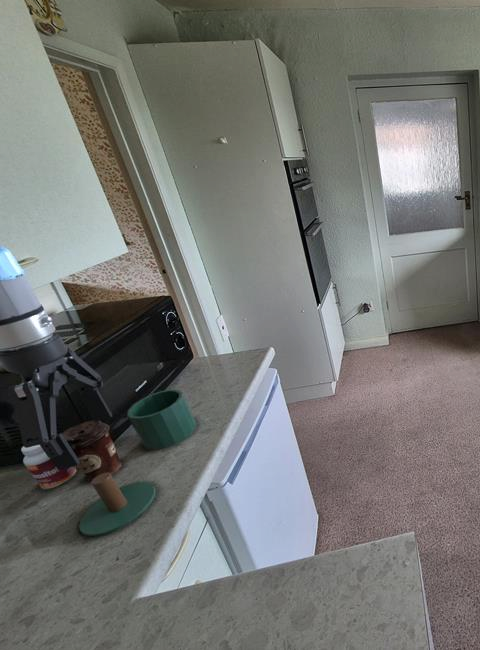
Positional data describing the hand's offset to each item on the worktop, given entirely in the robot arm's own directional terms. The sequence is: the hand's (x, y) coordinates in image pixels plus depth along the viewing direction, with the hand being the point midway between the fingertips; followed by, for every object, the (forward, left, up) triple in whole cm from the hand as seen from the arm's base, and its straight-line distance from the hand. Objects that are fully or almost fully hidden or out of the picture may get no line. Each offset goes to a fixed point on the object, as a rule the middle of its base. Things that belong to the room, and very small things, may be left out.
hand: (88, 440), depth 71 cm
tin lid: (-3, +1, -19) cm, 19 cm away
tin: (-3, +24, -19) cm, 31 cm away
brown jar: (-13, +14, -20) cm, 27 cm away
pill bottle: (-23, +15, -20) cm, 34 cm away
